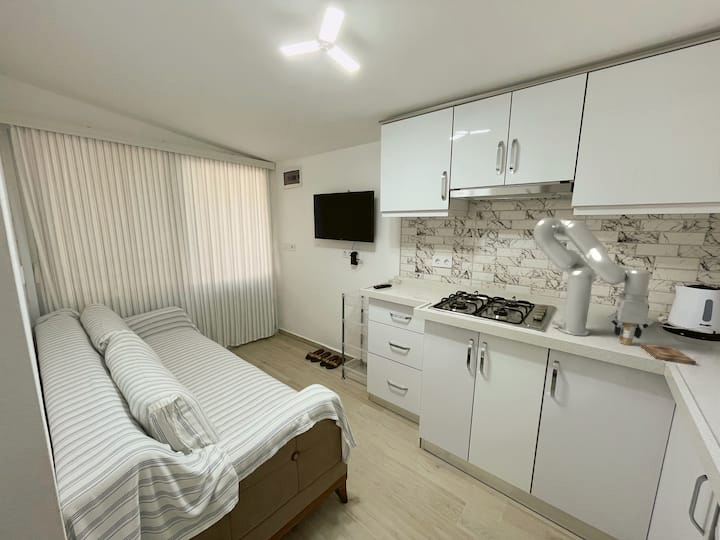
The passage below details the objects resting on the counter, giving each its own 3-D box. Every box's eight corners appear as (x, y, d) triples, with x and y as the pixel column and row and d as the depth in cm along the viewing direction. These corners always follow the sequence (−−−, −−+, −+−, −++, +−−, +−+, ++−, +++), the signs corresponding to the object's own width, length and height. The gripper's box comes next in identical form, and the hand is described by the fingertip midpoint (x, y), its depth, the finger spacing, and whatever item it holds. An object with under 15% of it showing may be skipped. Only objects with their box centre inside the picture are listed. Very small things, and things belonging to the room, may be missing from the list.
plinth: (655, 359, 120) (656, 354, 119) (640, 347, 131) (640, 342, 130) (695, 365, 116) (696, 359, 115) (675, 352, 127) (676, 347, 126)
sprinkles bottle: (616, 341, 137) (621, 313, 135) (625, 341, 137) (630, 313, 135) (625, 345, 132) (631, 316, 130) (635, 345, 133) (640, 316, 131)
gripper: (613, 297, 131) (606, 336, 134) (664, 301, 125) (656, 342, 128) (606, 293, 138) (600, 330, 141) (654, 297, 132) (646, 336, 135)
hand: (626, 335), depth 134 cm, fingers open, 6 cm apart
